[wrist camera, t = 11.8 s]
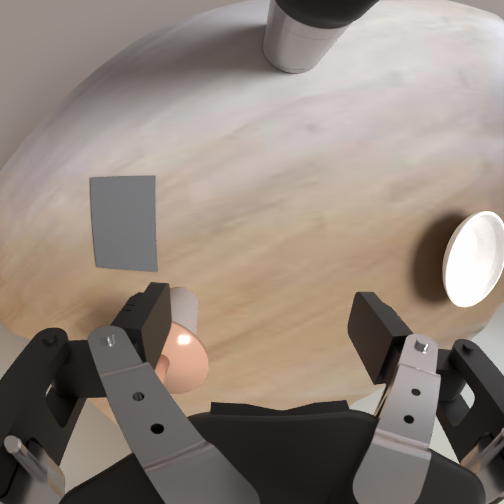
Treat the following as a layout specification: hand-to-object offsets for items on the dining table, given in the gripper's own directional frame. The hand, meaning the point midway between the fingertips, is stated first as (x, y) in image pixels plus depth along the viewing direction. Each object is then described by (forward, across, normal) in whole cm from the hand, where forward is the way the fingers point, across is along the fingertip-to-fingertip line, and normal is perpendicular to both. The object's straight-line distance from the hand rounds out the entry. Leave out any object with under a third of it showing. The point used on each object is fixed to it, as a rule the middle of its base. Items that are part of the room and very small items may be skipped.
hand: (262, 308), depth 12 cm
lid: (+18, +11, +19) cm, 28 cm away
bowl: (+33, -44, +6) cm, 56 cm away
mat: (+33, +21, +5) cm, 40 cm away
